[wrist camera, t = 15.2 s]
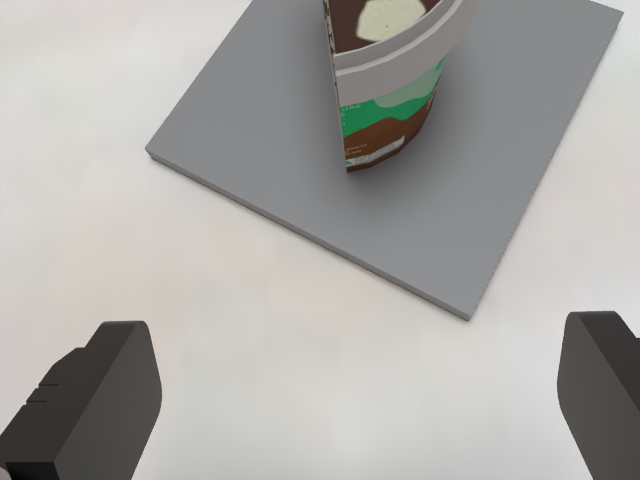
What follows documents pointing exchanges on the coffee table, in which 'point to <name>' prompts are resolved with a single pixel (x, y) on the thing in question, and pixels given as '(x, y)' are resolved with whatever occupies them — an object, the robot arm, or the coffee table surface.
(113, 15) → the coffee table surface
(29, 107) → the coffee table surface
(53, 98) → the coffee table surface
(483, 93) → the slate board
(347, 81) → the food container
